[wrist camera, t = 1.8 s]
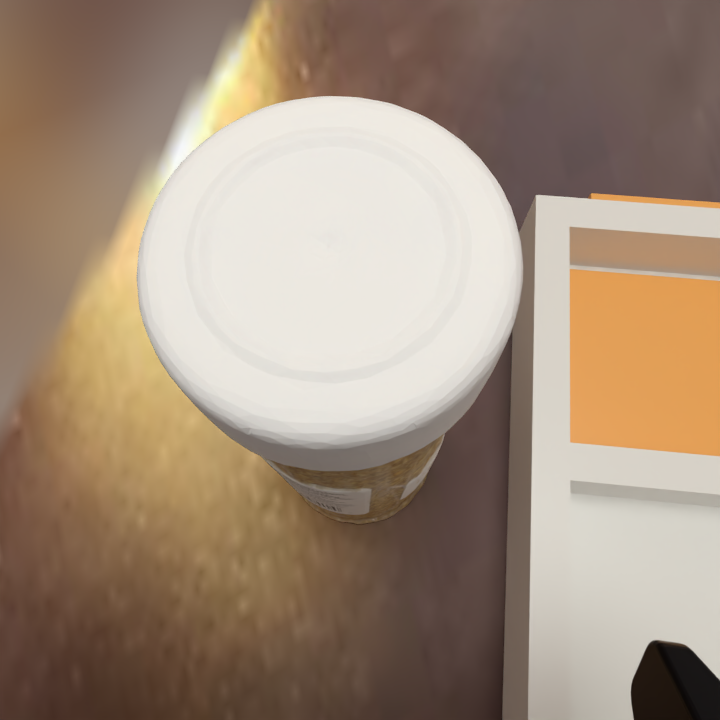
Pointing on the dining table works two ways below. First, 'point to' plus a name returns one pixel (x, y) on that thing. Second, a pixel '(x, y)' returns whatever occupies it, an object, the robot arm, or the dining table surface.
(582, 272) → the condiment rack
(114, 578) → the dining table surface
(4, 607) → the dining table surface
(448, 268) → the sprinkles bottle
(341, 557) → the dining table surface
